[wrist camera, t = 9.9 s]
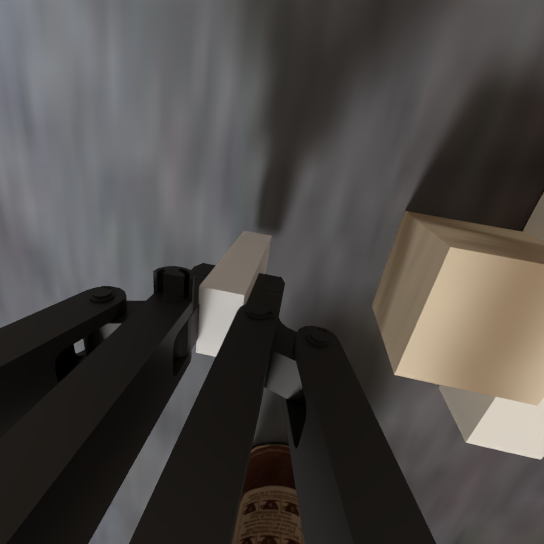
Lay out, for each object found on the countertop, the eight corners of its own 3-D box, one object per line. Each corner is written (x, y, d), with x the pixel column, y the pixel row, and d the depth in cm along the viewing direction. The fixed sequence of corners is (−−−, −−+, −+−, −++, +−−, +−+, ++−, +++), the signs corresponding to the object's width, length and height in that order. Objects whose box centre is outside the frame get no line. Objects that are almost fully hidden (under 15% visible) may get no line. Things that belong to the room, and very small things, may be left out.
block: (371, 305, 18) (394, 374, 13) (404, 210, 16) (450, 247, 10) (470, 325, 18) (537, 405, 12) (520, 230, 15) (633, 280, 10)
